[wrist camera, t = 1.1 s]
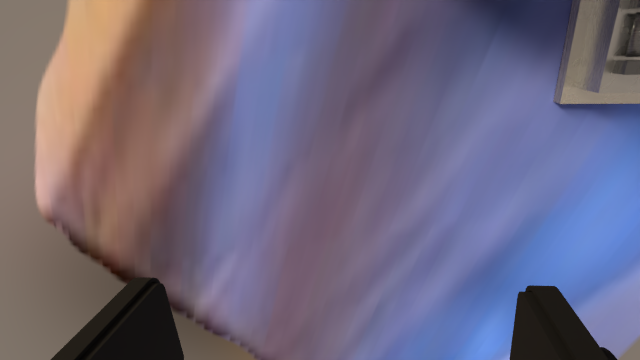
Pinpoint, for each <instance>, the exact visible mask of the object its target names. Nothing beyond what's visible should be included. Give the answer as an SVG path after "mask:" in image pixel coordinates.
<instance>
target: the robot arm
mask: <svg viewBox="0 0 640 360" xmlns="http://www.w3.org/2000/svg"><path fill="white" fill-rule="evenodd" d="M51 360H184V355H183V351H182V348H181V344H180V340H179V337H178V333H177V330H176V326H175V322H174V319H173V315H172V312H171V308H170V304H169V301H168V297H167V294H166V290H165V287H164V285H163V284H161V283H160V282H159V280H158V279H156V278H134V279H133V280H131V281H130V282H129V283H128V284H127V285H126V286H125V287H124V288H123V289H122V290H121V291H120V292H119V293H118V294H117V295H116V296H115V297H114V298H113V299H112V300H111V301H110V302H109V303H108V304H107V305H106V306H105V307H104V308H103V309H102V310H101V311H100V312H99V313H98V314H97V315H96V316H95V317H94V318H93V319H92V320H91V321H90V322H88V323H87V325H85V326H84V327H83V328H82V329H81V330H80V332H78V333H77V334H76V335H75V336H74V337H73V338H72V339H71V340H70V341H69V342H68V343H67V344H66V345H65V346H64V347H63V348H62V349H61V350H60V351H59V352H58V353H57V354H56V355H55V356H54V357H53V358H52V359H51ZM510 360H617V359H616V357H615V356H614V355H613V354H612V353H611V352H610V351H609V350H607V349H606V348H603V347H599V345H598V344H597V343H596V341H595V340H594V338H593V337H592V336H591V334H590V333H589V331H588V330H587V329H586V327H585V326H584V324H583V323H582V322H581V320H580V319H579V317H578V316H577V315H576V313H575V312H574V310H573V309H572V308H571V306H570V305H569V303H568V302H567V301H566V299H565V298H564V296H563V295H562V294H561V292H560V291H559V290H558V288H557V287H555V286H527V288H526V291H525V292H519V294H518V298H517V306H516V314H515V322H514V330H513V337H512V345H511V353H510Z"/></svg>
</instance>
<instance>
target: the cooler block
mask: <svg viewBox="0 0 640 360" xmlns="http://www.w3.org/2000/svg"><path fill="white" fill-rule="evenodd" d="M636 12H640V0H573V2H572V7H571V12H570V17H569V22H568V28H567V33H566V38H565V43H564V48H563V53H562V59H561V64H560V69H559V74H558V79H557V84H556V90H555V95H554V100H553V102H556V103H559V104H640V57H625V56H626V52H627V48H628V44H629V40H630V36H631V32H632V28H633V24H634V20H635V16H636Z"/></svg>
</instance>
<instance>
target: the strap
mask: <svg viewBox="0 0 640 360" xmlns="http://www.w3.org/2000/svg"><path fill="white" fill-rule="evenodd" d="M625 57H640V12H636V16H635V20H634V24H633V28H632V32H631V36H630V40H629V44H628V48H627V52H626V56H625Z"/></svg>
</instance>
